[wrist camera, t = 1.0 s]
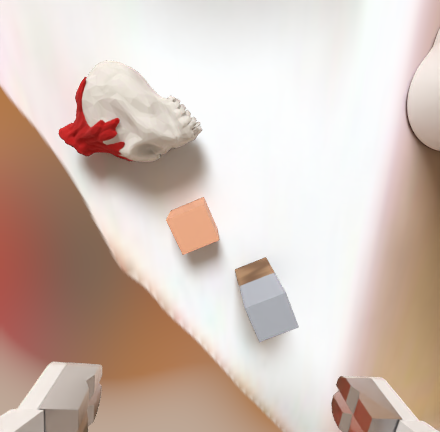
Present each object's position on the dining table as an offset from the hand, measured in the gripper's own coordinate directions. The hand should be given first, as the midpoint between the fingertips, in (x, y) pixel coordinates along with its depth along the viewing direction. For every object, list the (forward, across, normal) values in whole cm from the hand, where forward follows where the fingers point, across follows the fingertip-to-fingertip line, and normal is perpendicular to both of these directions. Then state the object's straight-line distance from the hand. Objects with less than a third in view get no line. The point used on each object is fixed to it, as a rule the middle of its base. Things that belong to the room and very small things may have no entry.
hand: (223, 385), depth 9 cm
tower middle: (+24, -9, +10) cm, 28 cm away
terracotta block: (+30, +1, +2) cm, 30 cm away
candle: (+30, +10, -10) cm, 33 cm away
